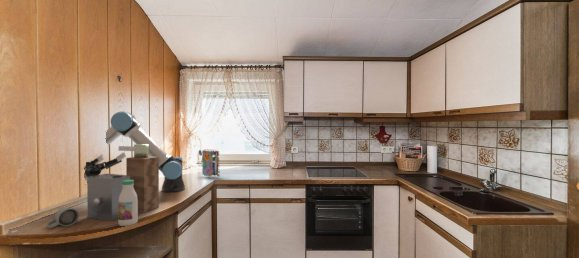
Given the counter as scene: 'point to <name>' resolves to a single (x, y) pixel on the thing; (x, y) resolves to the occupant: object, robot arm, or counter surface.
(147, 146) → the spout can
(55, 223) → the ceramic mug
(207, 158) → the box
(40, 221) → the counter surface
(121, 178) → the box
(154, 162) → the walnut stand
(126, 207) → the milk bottle
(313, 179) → the counter surface
